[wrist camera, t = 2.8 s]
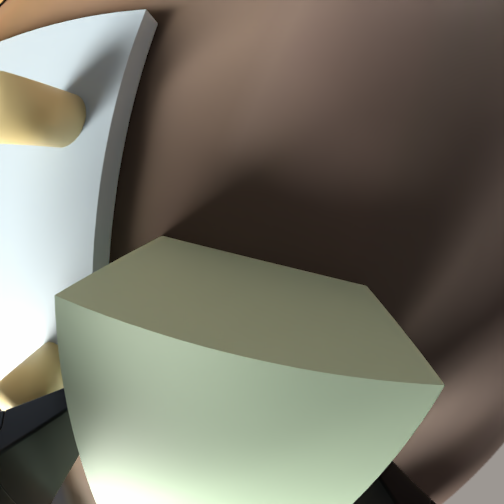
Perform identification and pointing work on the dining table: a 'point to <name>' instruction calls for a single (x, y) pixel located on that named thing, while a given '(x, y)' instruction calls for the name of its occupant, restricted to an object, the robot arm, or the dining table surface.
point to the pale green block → (233, 380)
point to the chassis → (59, 177)
